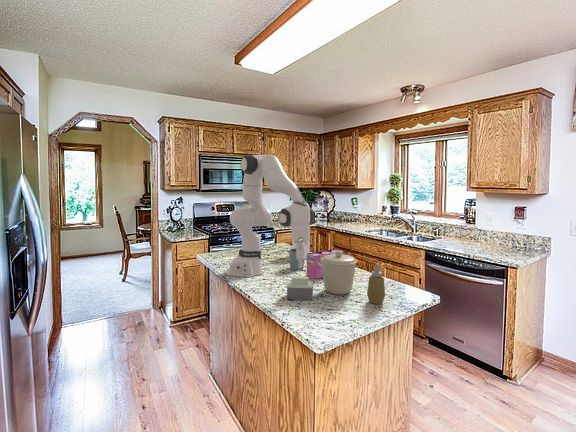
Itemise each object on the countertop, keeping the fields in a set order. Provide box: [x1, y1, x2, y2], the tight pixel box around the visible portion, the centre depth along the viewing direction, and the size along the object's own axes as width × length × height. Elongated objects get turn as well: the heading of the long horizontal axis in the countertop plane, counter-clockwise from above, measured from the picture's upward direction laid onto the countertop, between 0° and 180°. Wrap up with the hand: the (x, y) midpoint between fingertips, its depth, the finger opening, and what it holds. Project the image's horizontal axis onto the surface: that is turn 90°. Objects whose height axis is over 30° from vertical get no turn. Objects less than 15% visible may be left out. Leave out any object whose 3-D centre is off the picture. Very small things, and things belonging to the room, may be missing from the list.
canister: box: [321, 249, 358, 296], centre depth 168 cm, size 18×18×21 cm
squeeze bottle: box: [366, 263, 386, 305], centre depth 154 cm, size 8×8×18 cm
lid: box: [286, 276, 314, 289], centre depth 160 cm, size 13×8×5 cm, turn 87°
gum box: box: [306, 248, 344, 280], centre depth 199 cm, size 24×8×14 cm, turn 124°
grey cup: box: [288, 248, 305, 271], centre depth 212 cm, size 10×10×12 cm
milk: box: [291, 239, 311, 260], centre depth 240 cm, size 12×12×26 cm
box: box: [286, 288, 314, 301], centre depth 160 cm, size 12×7×6 cm, turn 87°
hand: (300, 265), depth 158 cm, fingers open, 8 cm apart
